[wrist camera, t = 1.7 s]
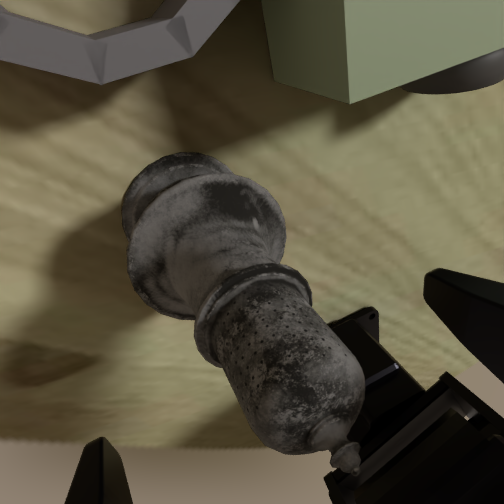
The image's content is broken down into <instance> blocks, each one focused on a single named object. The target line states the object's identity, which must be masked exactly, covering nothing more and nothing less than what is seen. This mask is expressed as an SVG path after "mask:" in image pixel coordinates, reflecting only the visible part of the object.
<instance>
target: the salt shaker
mask: <svg viewBox="0 0 504 504" xmlns="http://www.w3.org/2000/svg"><path fill="white" fill-rule="evenodd" d="M122 225H123V228H124V231H125V234H126V236H127V239H128V241H129V244H128V247H127V271H128V274H129V277H130V279H131V282H132V285H133V287H134V290H135V291H136V293H137V294H138V295H139V296H140V297H141V299H142V300H143V301H144V302H145V303H146V304H147V305H148V306H150V307H151V308H153V309H154V310H156V311H157V312H159V313H161V314H163V315H166V316H169V317H173V318H176V319H180V320H195V324H194V339H195V342H196V345H197V349H198V351H199V352H200V353H201V355H202V356H203V357H204V359H205V360H206V361H208V362H209V363H211V364H213V365H214V366H216V367H220V368H223V370H224V372H225V374H226V376H227V378H228V380H229V383H230V385H231V387H232V389H233V391H234V393H235V395H236V397H237V399H238V402H239V404H240V406H241V408H242V410H243V412H244V414H245V416H246V418H247V421H248V423H249V425H250V427H251V429H252V430H253V431H254V432H255V434H256V435H257V436H258V437H259V439H260V440H261V441H262V442H263V444H264V445H265V446H267V447H269V448H272V449H274V450H276V451H278V452H281V453H283V454H288V455H301V454H309V453H314V452H317V451H325V450H329V451H330V452H331V455H332V456H331V460H330V464H331V466H332V467H334V468H339V467H340V469H341V470H342V471H343V472H346V473H351V474H352V475H353V476H358V475H359V474H360V471H361V470H360V468H359V465H360V462H361V459H360V456H359V454H358V453H359V451H360V448H361V447H360V445H359V443H356V442H350V441H349V440H348V439H347V437H346V436H347V435H348V433H349V432H350V429H351V427H352V425H353V424H354V422H355V420H356V419H357V417H358V415H359V412H360V410H361V408H362V405H363V402H364V399H365V377H364V374H363V371H362V368H361V366H360V364H359V362H358V360H357V359H356V357H355V356H354V355H353V354H352V353H351V351H350V350H349V349H348V348H347V347H346V346H345V345H344V343H343V342H342V341H341V340H340V339H339V338H338V337H337V335H336V334H335V333H334V332H333V331H332V330H331V329H330V327H329V326H328V325H327V324H326V323H325V322H324V321H323V319H322V318H321V317H320V316H319V315H318V314H317V313H316V311H315V310H314V309H313V308H312V292H311V289H310V287H309V284H308V282H307V280H306V279H305V278H304V277H303V276H302V275H301V274H300V273H299V272H298V271H297V270H295V269H293V268H291V267H289V266H287V265H283V264H280V261H281V259H282V257H283V253H284V248H285V242H286V227H285V219H284V217H283V214H282V212H281V209H280V207H279V204H278V203H277V201H276V200H275V199H274V198H273V197H272V195H271V194H270V193H269V192H268V191H267V190H266V189H265V188H264V187H262V186H260V185H259V184H257V183H256V182H254V181H252V180H251V179H249V178H245V177H242V176H238V175H234V174H233V172H232V171H231V170H230V169H229V168H228V167H227V166H226V165H225V164H223V163H222V162H220V161H218V160H217V159H215V158H214V157H211V156H208V155H204V154H201V153H187V152H180V153H176V154H172V155H169V156H165V157H162V158H160V159H159V160H157V161H155V162H153V163H151V164H150V165H148V166H147V167H146V168H145V169H144V170H143V171H142V172H141V173H140V174H138V175H137V176H136V177H135V179H134V180H133V182H132V184H131V185H130V187H129V189H128V190H127V192H126V195H125V199H124V203H123V206H122Z"/></svg>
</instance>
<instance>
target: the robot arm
mask: <svg viewBox="0 0 504 504" xmlns="http://www.w3.org/2000/svg"><path fill="white" fill-rule="evenodd" d="M423 296H424V299H425V301H426V303H427V304H428V305H429V307H430V308H431V309H432V310H433V311H434V312H435V314H436V315H437V316H438V317H439V318H440V319H441V320H442V322H443V323H444V324H445V325H446V326H447V327H448V328H449V330H450V331H451V332H452V333H453V334H454V335H455V337H456V338H457V339H458V340H459V341H460V342H461V343H462V344H463V345H464V346H465V347H466V348H467V349H468V350H469V351H470V352H471V353H472V354H473V355H474V356H475V357H476V358H477V359H478V360H479V361H480V362H482V364H483V365H485V366H486V367H487V368H488V369H489V370H490V371H491V372H492V373H493V374H494V375H495V376H496V377H497V378H499V380H501V381H502V382H503V383H504V283H501V282H496V281H492V280H488V279H484V278H480V277H476V276H472V275H468V274H463V273H459V272H455V271H451V270H447V269H443V268H437V269H434V270H432V271H430V272H428V273H427V274H426V275H425V277H424V290H423ZM330 329H331V330H332V331H333V332H334V333H335V334H336V335H337V337H338V338H339V339H340V340H341V341H342V342H343V343H344V345H345V346H346V347H347V348H348V349H349V350H350V351H351V353H352V354H353V355H354V356H355V357H356V359H357V360H358V362H359V364H360V366H361V368H362V371H363V374H364V377H365V399H364V402H363V405H362V408H361V410H360V412H359V415H358V417H357V419H356V420H355V422H354V424H353V425H352V427H351V429H350V432H349V433H348V435H347V436H346V437H347V439H348V440H349V441H350V442H356V443H359V445H360V447H361V448H360V451H359V453H358V454H359V456H360V459H361V462H360V465H359V468H360V470H361V471H360V474H359V475H358V476H353V475H352V474H351V473H346V472H343V471H342V470H341V469H340V467H339V468H337V469H336V470H335V471H333V472H332V471H331V472H329V473H328V474H327V475H326V476H325V477H324V481H325V483H326V485H327V488H328V490H329V497H330V499H331V501H332V504H504V418H503V417H501V416H500V415H499V414H498V413H497V412H495V411H494V410H493V409H492V408H491V407H489V406H488V405H487V404H486V403H484V402H483V401H482V400H481V399H480V398H478V397H477V396H476V395H475V394H474V393H472V392H471V391H470V390H469V389H467V388H466V387H465V386H464V385H463V384H461V383H460V382H459V381H458V380H457V379H455V378H454V377H453V376H452V375H451V374H449V373H448V372H447V371H446V372H445V373H444V374H442V375H441V376H440V377H439V379H440V380H438V381H437V382H436V383H435V384H434V385H433V386H431V387H430V388H429V389H428V390H427V391H426V390H425V389H424V388H423V387H422V386H421V385H420V384H419V383H418V382H417V381H416V380H415V379H414V378H413V377H412V376H411V375H410V374H409V373H408V372H407V371H406V370H405V369H404V368H403V367H402V366H401V365H400V364H399V363H398V362H397V361H396V360H395V359H394V358H393V357H392V356H391V355H390V353H389V352H388V351H387V350H386V349H385V348H384V347H383V346H382V345H381V344H380V343H379V313H378V311H377V310H376V309H375V308H374V307H368V308H366V309H364V310H362V311H360V312H358V313H356V314H354V315H352V316H350V317H348V318H346V319H344V320H342V321H340V322H338V323H336V324H334V325H332V326H330ZM465 416H467V417H468V418H469V420H468V421H467V420H466V419H465V418H464V417H465ZM65 504H133V502H132V498H131V494H130V490H129V486H128V482H127V478H126V474H125V470H124V466H123V463H122V459H121V457H120V455H119V453H118V452H117V451H116V449H115V448H114V447H113V446H112V445H111V443H110V442H109V441H108V440H107V439H106V438H105V437H99V438H97V439H95V440H93V441H91V442H89V443H88V444H86V446H85V447H84V449H83V452H82V455H81V458H80V461H79V463H78V466H77V469H76V472H75V475H74V478H73V481H72V483H71V486H70V489H69V492H68V495H67V498H66V501H65Z"/></svg>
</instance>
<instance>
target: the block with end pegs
mask: <svg viewBox="0 0 504 504" xmlns="http://www.w3.org/2000/svg"><path fill="white" fill-rule="evenodd" d="M239 1H240V0H165V1H164V2H163V3H162V4H161V5H160V7H159V8H158V9H157V10H156V12H155V13H154V14H153V15H152V17H151V18H148V19H144V20H141V21H137V22H133V23H130V24H126V25H122V26H119V27H115V28H111V29H108V30H104V31H101V32H97V33H93V34H90V35H85V34H81V33H78V32H74V31H71V30H68V29H64V28H61V27H58V26H54V25H51V24H47V23H44V22H41V21H37V20H34V19H31V18H27V17H24V16H21V15H17V14H14V13H10V12H8V11H7V10H6V9H5V8H3V7H2V6H1V5H0V60H3V61H7V62H11V63H15V64H19V65H23V66H27V67H31V68H36V69H40V70H44V71H48V72H52V73H56V74H60V75H64V76H68V77H72V78H76V79H81V80H85V81H89V82H93V83H97V84H100V85H103V84H105V83H108V82H112V81H115V80H118V79H121V78H125V77H128V76H131V75H134V74H138V73H141V72H144V71H148V70H151V69H154V68H157V67H161V66H164V65H167V64H170V63H174V62H177V61H180V60H183V59H187V58H190V57H191V58H192V57H193V56H194V55H195V54H196V52H197V51H198V50H199V49H200V48H201V46H202V45H203V44H204V43H205V42H206V40H207V39H208V38H209V37H210V36H211V34H212V33H213V32H214V31H215V30H216V28H217V27H218V26H219V25H220V24H221V22H222V21H223V20H224V19H225V18H226V16H227V15H228V14H229V13H230V12H231V10H232V9H233V8H234V7H235V6H236V5H237V3H238V2H239ZM261 2H262V9H263V15H264V21H265V27H266V33H267V39H268V45H269V52H270V58H271V64H272V70H273V76H274V81H276V82H279V83H282V84H285V85H289V86H292V87H295V88H298V89H302V90H305V91H308V92H311V93H315V94H318V95H321V96H325V97H328V98H331V99H334V100H338V101H341V102H344V103H347V104H352V103H355V102H357V101H360V100H363V99H366V98H368V97H371V96H374V95H376V94H379V93H382V92H385V91H387V90H390V89H393V88H395V87H398V86H400V87H401V88H402V89H404V90H406V91H409V92H413V93H420V94H451V93H460V92H467V91H472V90H477V89H481V88H484V87H488V86H491V85H494V84H496V83H498V82H500V81H502V80H503V79H504V0H261Z"/></svg>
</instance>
